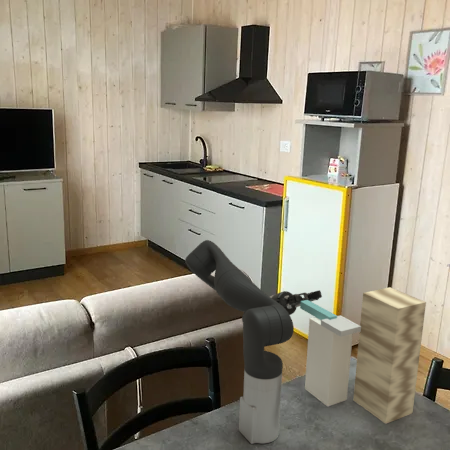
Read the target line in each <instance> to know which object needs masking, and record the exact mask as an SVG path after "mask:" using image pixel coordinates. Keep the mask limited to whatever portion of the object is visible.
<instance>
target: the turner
mask: <svg viewBox="0 0 450 450" xmlns="http://www.w3.org/2000/svg"><path fill="white" fill-rule="evenodd" d="M299 309H301V310H302V311H304V312H306V313H308V314H309V315H311V316H313V317H316V318H318V319H320V320H321V326H323V327H325V328H327V329H328V330H330V331H332V332H333V333H335V334H337V335H338V336H340V337H342V336H346V335H349V334H357V333H360V332H361V326H360V324H357V323H356V322H353V321H352V320H350V319H348V318H347V317H344V316H342V315H336V314H334V313H333V312H331V311H329V310H328V309H325V308H324V307H322V306H320V305H318V304H316V303H314V301H309V300H304V301H301V302H300V306H299Z"/></svg>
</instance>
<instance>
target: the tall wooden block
mask: <svg viewBox="0 0 450 450" xmlns="http://www.w3.org/2000/svg"><path fill="white" fill-rule="evenodd" d="M426 306H427V302H426V301H424V300H422V299H420V298H417V297H415V296H412V295H410V294H408V293H405V292H402V291H400V290H398V289H395V288H392V287H390V286H389V287H384V288H381V289H376V290H371V291H366V292H363V293H362V302H361V313H360V323H359V325H360V326H361V332H358V333H359V336H358V345H357V356H356V368H355V379H354V380H355V381H354V389H353V401H354V402H355V403H356V404H357V405H359V406H360V407H362V408H363V409H364V410H366V411H368V412H369V413H370V414H372V415H373V416H374V417H376V418H377V419H379V420H380V421H381V422H382V423H384V424H385V425H387V424H389V423H392V422H394V421H397V420H399V419H402V418H404V417H406V416H409V415H412V414H413V412H414V403H415V396H416V390H417V389H416V387H417V380H418V372H419V363H420V354H421V348H422V347H421V346H422V340H423V339H422V338H423V330H424V323H425V314H426Z"/></svg>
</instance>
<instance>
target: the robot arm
mask: <svg viewBox="0 0 450 450" xmlns="http://www.w3.org/2000/svg"><path fill="white" fill-rule="evenodd" d="M184 262H185V265H186V266H187V268H188V269H189V270H190V271H191V272H192V273H193V274H194V275H195V276H196V277H197V278H199V279H200V280H201V281H202V282H204V283H205V284H206V285H208V286H209V287H210V288H212V290H214V291H216V293H217V295H218V296H219V297H220V299H222V300H223V302H224V303H225V304H226V305H227V306H229V307H231V308H233V309H235V310H237V311H238V312H239V311H240V312H243V314H242V317H241V322H242V337H243V340H242V341H243V345H242V347H243V349H242V351H243V352H242V353H243V361H244V367H243V368H244V371H243V373H244V374H243V375H244V376H243V378H244V379H243V393H242V394H243V396H240V397H239V414H238V415H239V418H238V431H239V432H240V433H241V434H242V436H243V437H244V438H245V439H246V440H247V441H248V442H249V443H250V444H251V445H254V444H269V443H273V442H274V441H276V440H277V439H278V437H279V436H280V435H279V434H280V423H281V422H280V420H281V402H282V399H281V398H282V383H283V367H284V366H283V365H284V364H283V360H282V357H280V356H279V355H278V354H276V353H274V352H272V351H268V350H265V347H270V346H275V345H276V346H277V345H281V344H283V343H285V342H288V341H290V339H291V338H292V337H293V335H294V330H295V329H294V323H293V319H292V317H291V315H293V314H294V313H295V312H296V310H297V308H298V307H299V308H300V302H301V301H304V300H309V301H311V302H314V301H319V300H320V299H321V298H322V297H323V296H322V295H323V294H322V292H321V290H316V291H311V292H308V293H307V292H302V293H301V292H300V293H295V294H293V293H291V292H290V291H287V290H286V291H284V290H283V291H281V292H278V293H275V294H272V295H270V296H269V295H267V294H266V293H265V292H264V291H263V290H261V288H260V287H258V285H256V284H255V283H254V282H253V281H252V280H251V279H250V278H249V276H247V275H246V274H245V273H244V272H243V271H242V270H241V269H240V268H238V266H236V265H235V264H234V263H233V262H232V261H231V260H230V259H229V258H228V256H227V255H226V254H225V253H224V251H223V250H222V249H221V248H220V247H219V246H218V245H217V244H216V243H215V242H214V241H211V240H208V239H205V240H203V241H202V242H200V243H199V244H198V245H197V246H196V247H195V248H194V249H192V251H190V253H189V254H188V255H187V256H186V257H185V259H184ZM213 273H214V275H212V274H213Z"/></svg>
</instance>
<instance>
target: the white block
mask: <svg viewBox="0 0 450 450" xmlns="http://www.w3.org/2000/svg"><path fill="white" fill-rule="evenodd" d="M308 320H309V321H308V334H307V335H308V336H307V348H306V349H307V352H306V366H305V378H304V379H305V382H304V389H305V390H306V391H307V392H309V393H310V394H311V395H312V396H313V397H315V398H316V399H317V400H318V401H320V402H321V403H322V404H323V405H325V406H326V407H330V406H333V405H337V404H339V403H342V402H344V401H347V400H348V391H349V381H350V380H349V378H350V368H351V357H352V345H353V334H354V333H353V334H349V335H346V336H342V337H340V336H338V335H337V334H335V333H333V332H332V331H330V330H328V329H327V328H325V327H323V326H321V320H320V319H318V318H316V317H315V316H313V317H311V318H308Z"/></svg>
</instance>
